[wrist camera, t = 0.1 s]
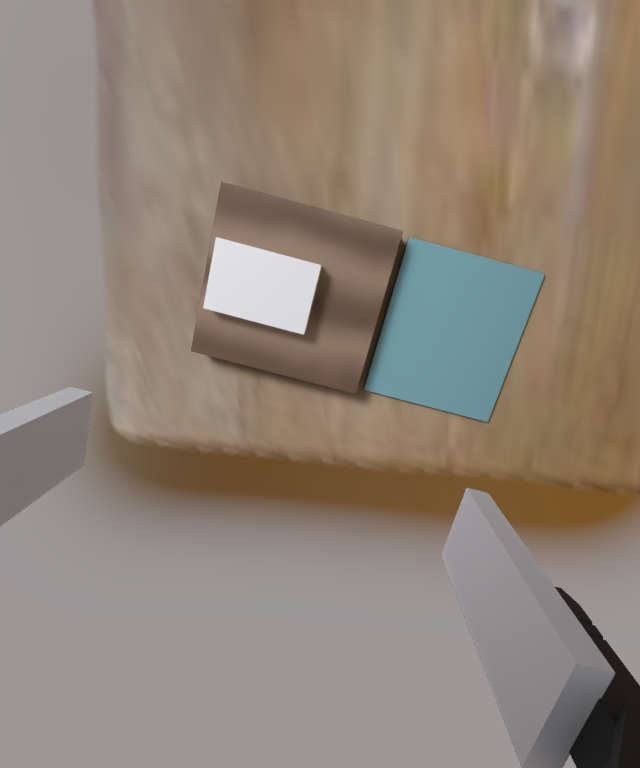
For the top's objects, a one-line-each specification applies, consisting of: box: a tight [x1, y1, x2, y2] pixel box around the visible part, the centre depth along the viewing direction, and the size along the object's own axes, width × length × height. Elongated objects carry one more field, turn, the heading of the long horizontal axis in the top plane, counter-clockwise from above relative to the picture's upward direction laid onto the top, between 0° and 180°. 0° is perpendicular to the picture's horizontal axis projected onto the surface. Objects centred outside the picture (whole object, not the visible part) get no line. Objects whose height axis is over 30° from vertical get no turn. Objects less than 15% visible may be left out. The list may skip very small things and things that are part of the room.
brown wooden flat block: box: [191, 182, 403, 394], centre depth 38 cm, size 15×16×3 cm
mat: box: [364, 237, 545, 422], centre depth 40 cm, size 15×13×1 cm
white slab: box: [203, 237, 322, 335], centre depth 35 cm, size 6×9×2 cm, turn 75°
